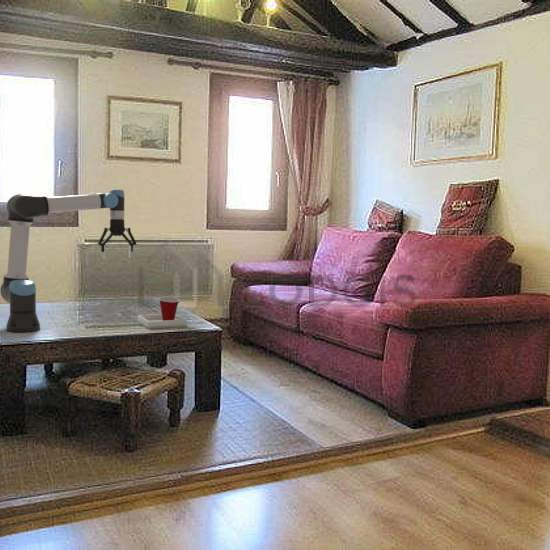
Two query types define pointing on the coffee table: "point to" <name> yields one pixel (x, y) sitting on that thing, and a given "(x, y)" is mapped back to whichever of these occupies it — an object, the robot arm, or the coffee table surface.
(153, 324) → the tray
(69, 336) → the coffee table surface
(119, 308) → the coffee table surface
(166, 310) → the plastic cup
